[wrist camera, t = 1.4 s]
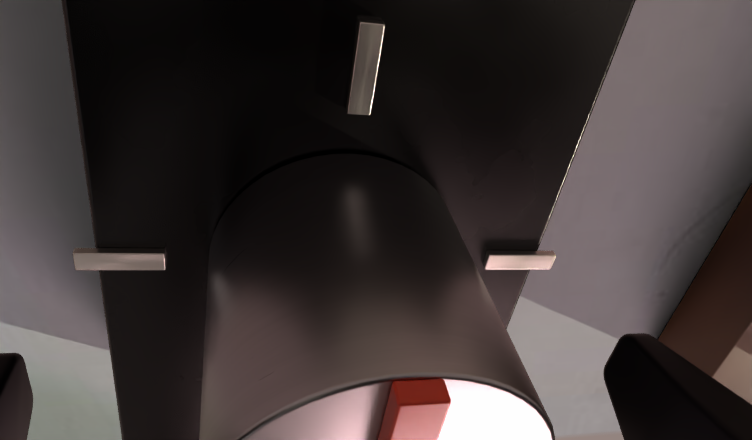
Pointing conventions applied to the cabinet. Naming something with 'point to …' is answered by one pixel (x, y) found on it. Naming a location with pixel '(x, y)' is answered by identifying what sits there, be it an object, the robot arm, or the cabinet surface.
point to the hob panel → (311, 141)
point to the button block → (720, 309)
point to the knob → (354, 316)
